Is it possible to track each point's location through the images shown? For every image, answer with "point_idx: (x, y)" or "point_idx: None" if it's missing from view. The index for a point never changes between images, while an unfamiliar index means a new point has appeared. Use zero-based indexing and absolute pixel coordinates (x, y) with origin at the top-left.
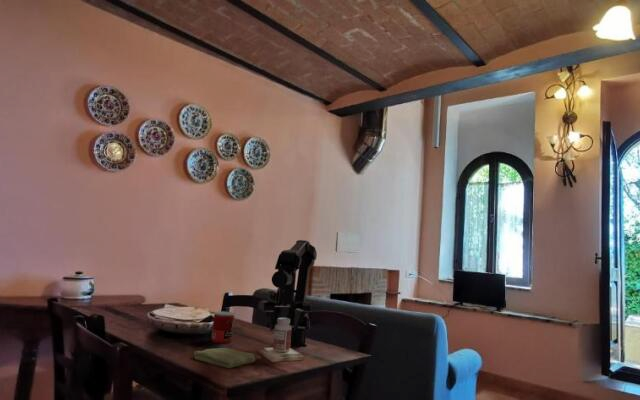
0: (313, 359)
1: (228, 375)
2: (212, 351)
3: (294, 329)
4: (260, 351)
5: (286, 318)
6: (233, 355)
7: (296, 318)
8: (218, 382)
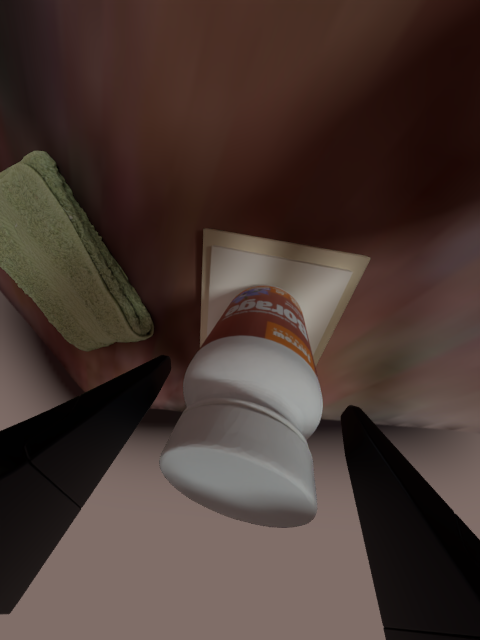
0: (345, 378)
1: (93, 371)
2: (12, 248)
3: (345, 415)
4: (205, 244)
5: (275, 503)
6: (79, 329)
7: (405, 565)
8: (80, 386)
